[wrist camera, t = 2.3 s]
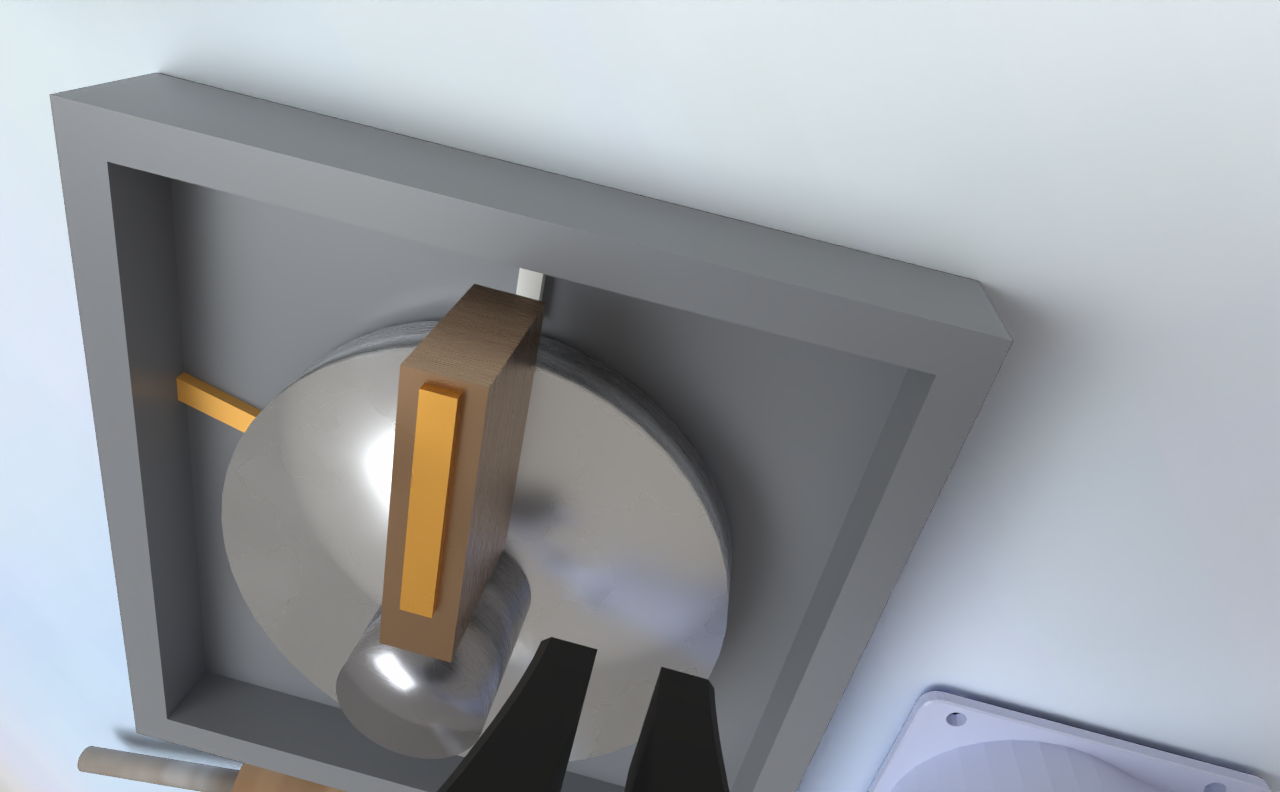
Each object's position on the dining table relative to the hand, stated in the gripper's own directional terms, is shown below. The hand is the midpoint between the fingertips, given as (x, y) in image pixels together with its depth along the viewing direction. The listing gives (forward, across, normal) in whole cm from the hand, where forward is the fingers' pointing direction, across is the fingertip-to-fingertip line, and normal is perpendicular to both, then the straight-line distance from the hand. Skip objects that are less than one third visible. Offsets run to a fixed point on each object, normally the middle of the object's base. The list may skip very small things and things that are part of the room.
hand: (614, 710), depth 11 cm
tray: (+10, +4, +5) cm, 12 cm away
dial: (+8, +4, +5) cm, 10 cm away
